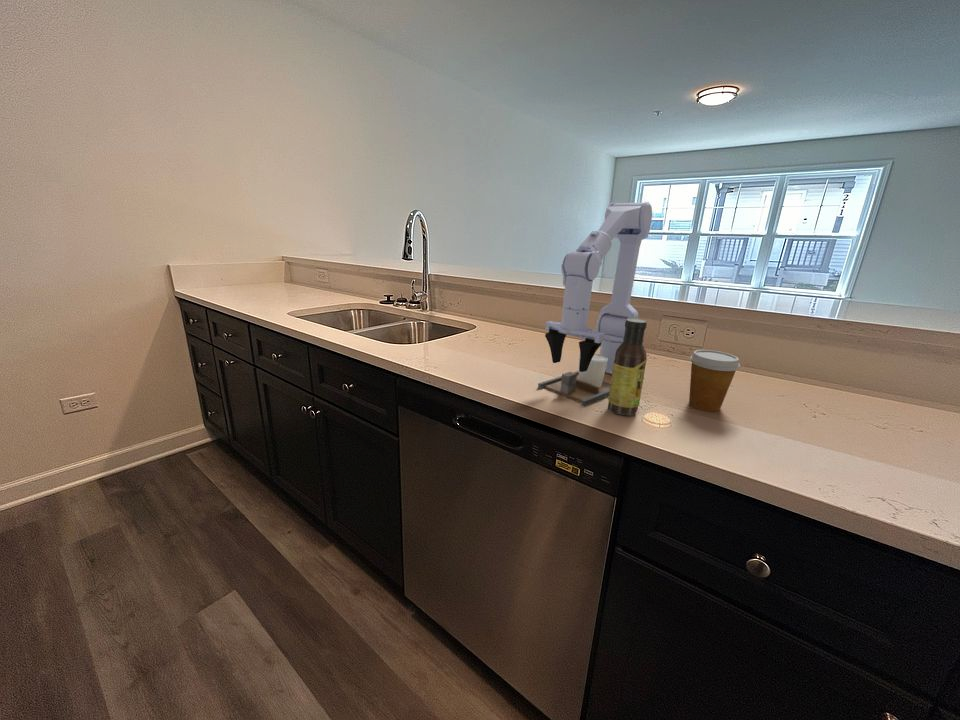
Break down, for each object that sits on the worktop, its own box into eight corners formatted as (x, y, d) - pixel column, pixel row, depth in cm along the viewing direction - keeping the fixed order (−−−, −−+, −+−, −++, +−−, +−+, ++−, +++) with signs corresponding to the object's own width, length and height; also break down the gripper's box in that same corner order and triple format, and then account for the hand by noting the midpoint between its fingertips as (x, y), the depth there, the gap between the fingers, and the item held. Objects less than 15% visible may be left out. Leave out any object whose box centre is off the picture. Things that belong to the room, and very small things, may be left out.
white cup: (605, 390, 95) (609, 362, 93) (576, 387, 96) (579, 359, 94) (603, 380, 102) (606, 354, 99) (575, 377, 103) (578, 351, 101)
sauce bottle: (638, 419, 82) (654, 325, 76) (606, 414, 84) (620, 322, 77) (636, 407, 88) (651, 318, 82) (607, 402, 89) (619, 316, 83)
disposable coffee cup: (723, 401, 93) (735, 352, 89) (733, 418, 84) (746, 364, 80) (678, 394, 96) (688, 347, 92) (684, 410, 87) (695, 358, 83)
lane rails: (581, 373, 108) (582, 369, 108) (626, 388, 98) (627, 384, 98) (537, 387, 97) (538, 383, 96) (584, 406, 87) (584, 401, 87)
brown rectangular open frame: (581, 376, 106) (584, 358, 105) (619, 388, 98) (621, 369, 97) (545, 388, 97) (547, 368, 95) (583, 403, 89) (585, 382, 87)
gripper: (538, 304, 90) (534, 361, 94) (593, 315, 79) (585, 378, 84) (558, 301, 94) (553, 356, 98) (612, 312, 84) (604, 372, 88)
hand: (569, 366), depth 91 cm, fingers open, 7 cm apart
